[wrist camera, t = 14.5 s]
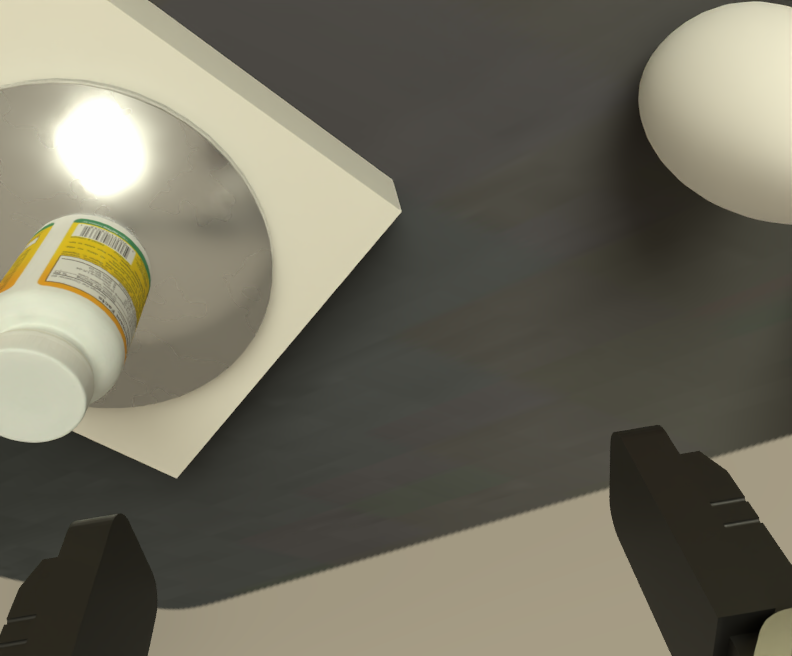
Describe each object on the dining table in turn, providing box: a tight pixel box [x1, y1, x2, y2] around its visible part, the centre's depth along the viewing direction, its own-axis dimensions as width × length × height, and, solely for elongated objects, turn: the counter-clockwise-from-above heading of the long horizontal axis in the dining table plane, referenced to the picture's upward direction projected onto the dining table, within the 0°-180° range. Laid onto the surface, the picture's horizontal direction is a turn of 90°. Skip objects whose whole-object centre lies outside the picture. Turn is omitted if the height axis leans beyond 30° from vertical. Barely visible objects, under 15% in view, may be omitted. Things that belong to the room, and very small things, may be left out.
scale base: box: [0, 0, 402, 478], centre depth 36 cm, size 20×20×4 cm
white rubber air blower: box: [638, 1, 792, 225], centre depth 30 cm, size 8×8×18 cm
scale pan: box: [0, 78, 273, 408], centre depth 34 cm, size 16×16×1 cm
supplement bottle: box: [0, 215, 152, 443], centre depth 30 cm, size 5×5×10 cm
